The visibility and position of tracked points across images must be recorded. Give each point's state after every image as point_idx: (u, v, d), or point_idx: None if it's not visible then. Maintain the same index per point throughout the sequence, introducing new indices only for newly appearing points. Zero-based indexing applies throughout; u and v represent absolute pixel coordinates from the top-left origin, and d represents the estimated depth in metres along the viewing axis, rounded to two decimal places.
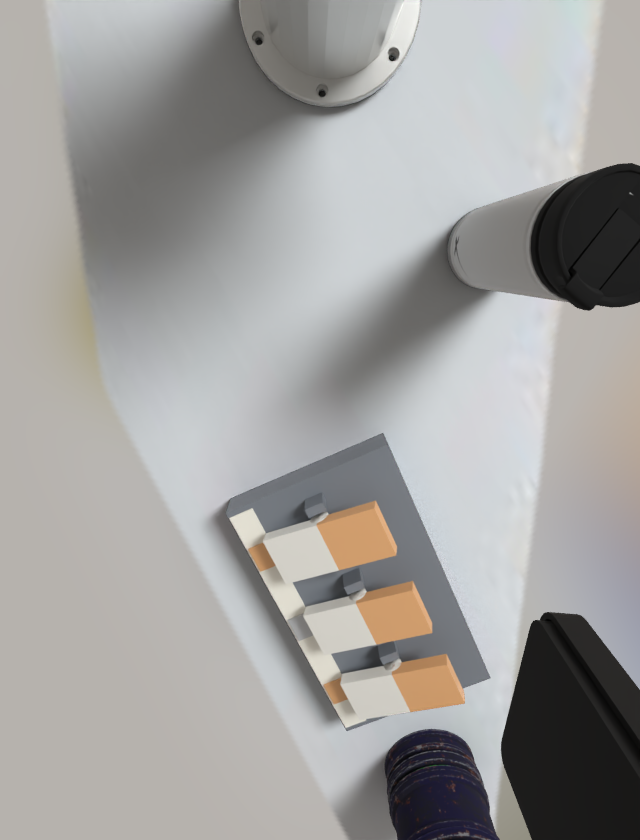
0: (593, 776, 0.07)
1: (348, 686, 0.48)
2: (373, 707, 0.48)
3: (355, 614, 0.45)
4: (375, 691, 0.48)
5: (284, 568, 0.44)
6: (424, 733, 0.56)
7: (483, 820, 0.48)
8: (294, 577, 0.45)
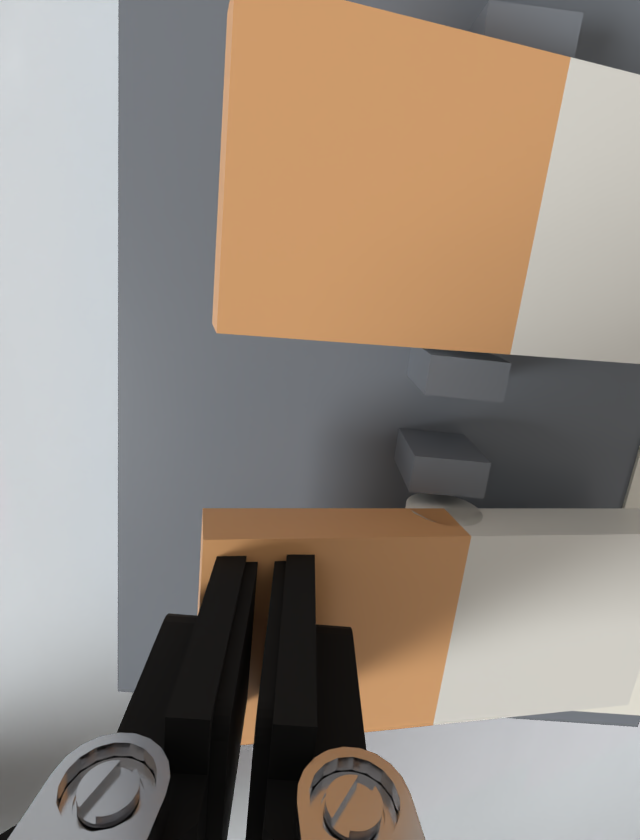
0: None
1: None
2: None
3: (546, 295, 0.09)
4: None
5: (639, 597, 0.12)
6: None
7: None
8: (638, 551, 0.11)
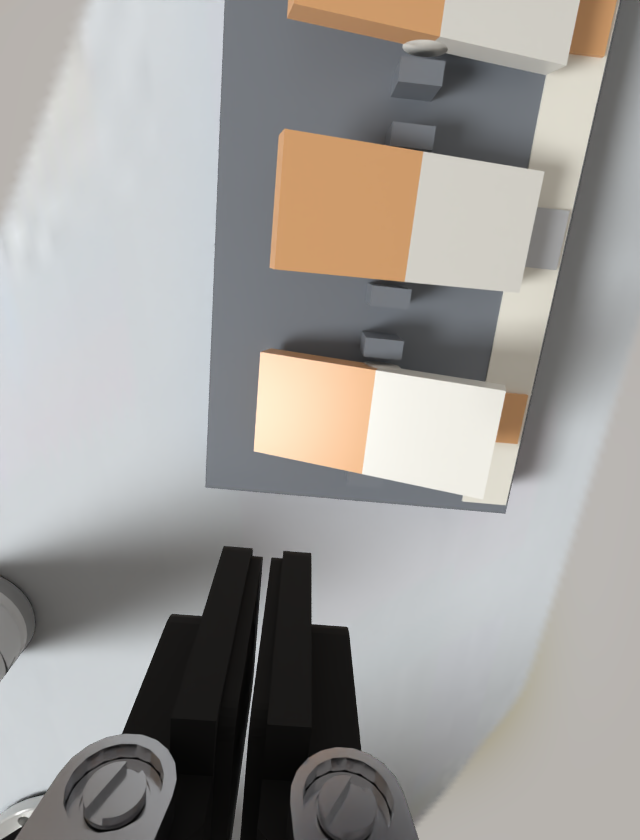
0: None
1: (553, 48, 0.19)
2: None
3: (420, 254, 0.20)
4: None
5: (480, 426, 0.20)
6: None
7: None
8: (475, 397, 0.20)
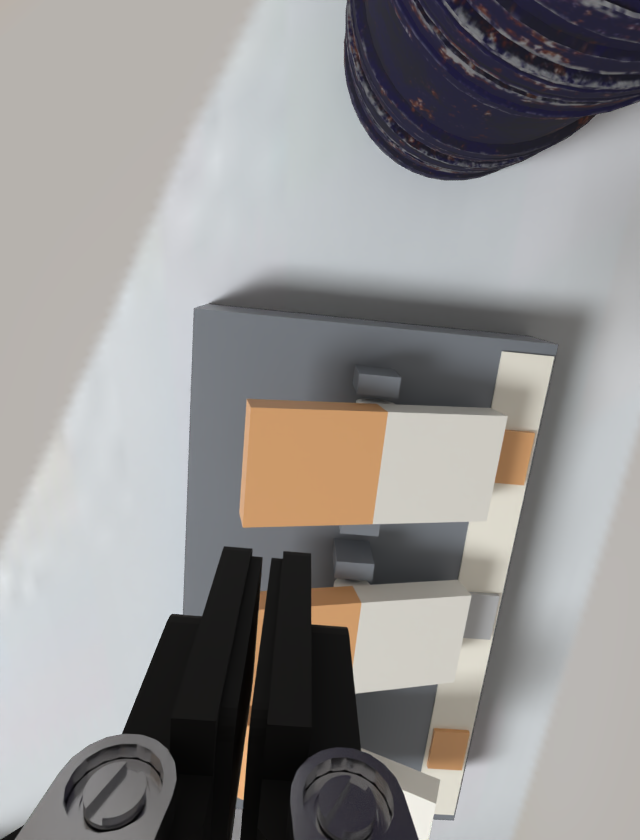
0: None
1: (474, 512, 0.21)
2: (458, 446, 0.20)
3: (362, 672, 0.22)
4: (431, 486, 0.21)
5: (415, 825, 0.23)
6: (418, 171, 0.22)
7: None
8: (410, 801, 0.22)
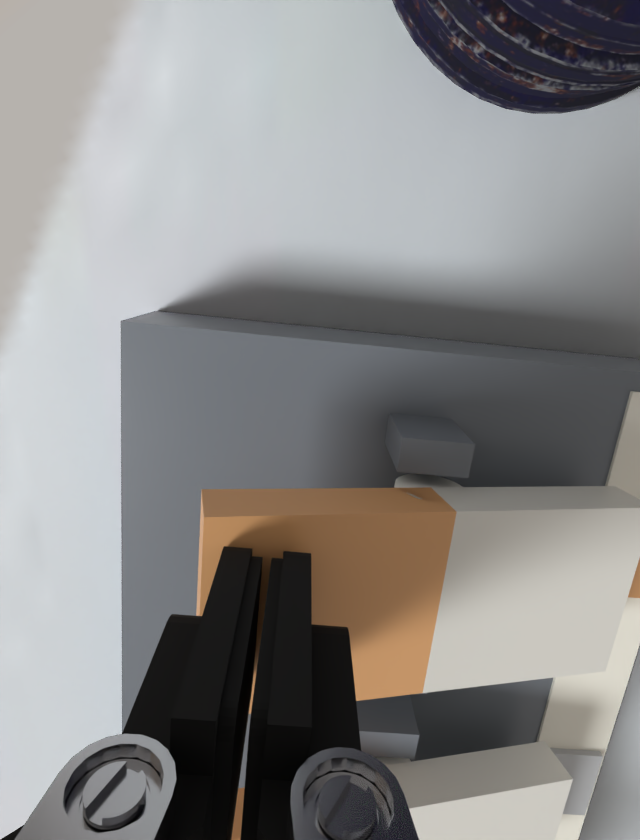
0: None
1: (587, 659, 0.13)
2: (571, 560, 0.12)
3: None
4: (522, 627, 0.12)
5: None
6: (491, 95, 0.14)
7: None
8: None
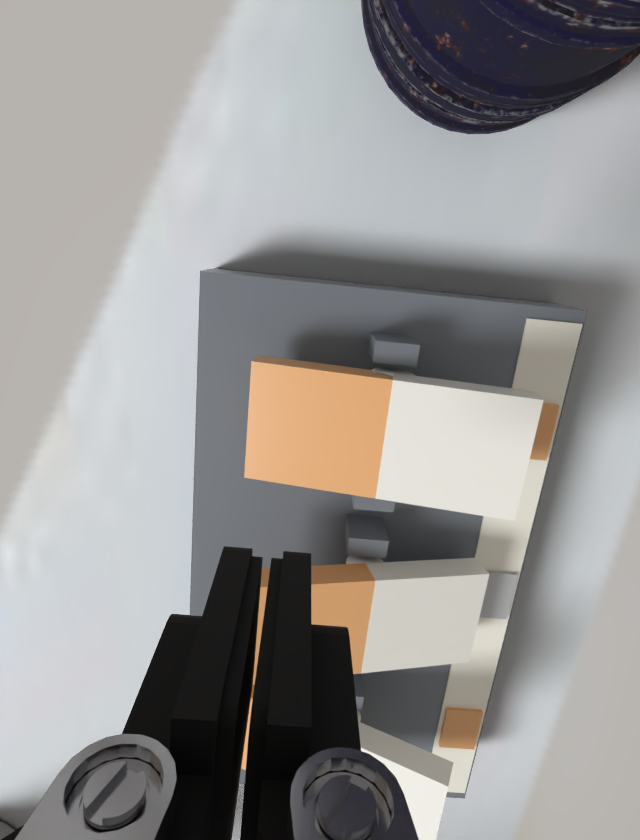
0: None
1: (498, 507, 0.19)
2: (478, 428, 0.18)
3: (375, 651, 0.22)
4: (443, 469, 0.19)
5: (426, 806, 0.22)
6: (439, 123, 0.21)
7: None
8: (421, 782, 0.22)
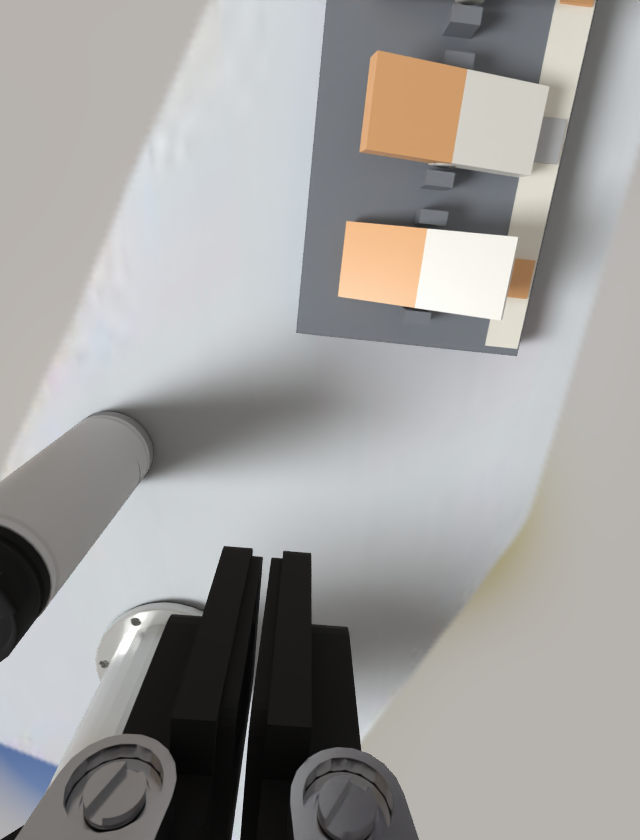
0: None
1: None
2: None
3: (463, 143, 0.29)
4: None
5: (499, 264, 0.29)
6: None
7: None
8: (496, 243, 0.29)
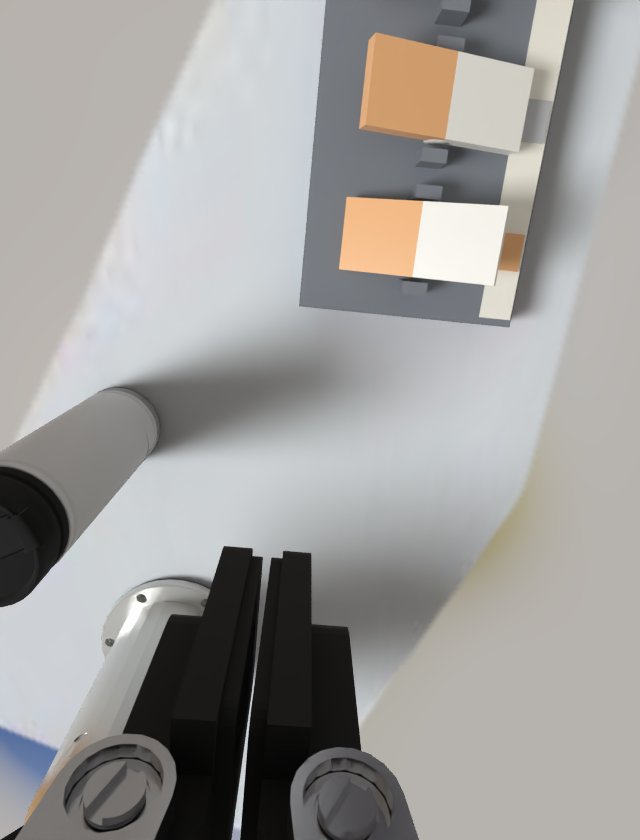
0: None
1: None
2: None
3: (455, 120, 0.31)
4: None
5: (491, 232, 0.31)
6: None
7: None
8: (488, 212, 0.31)
